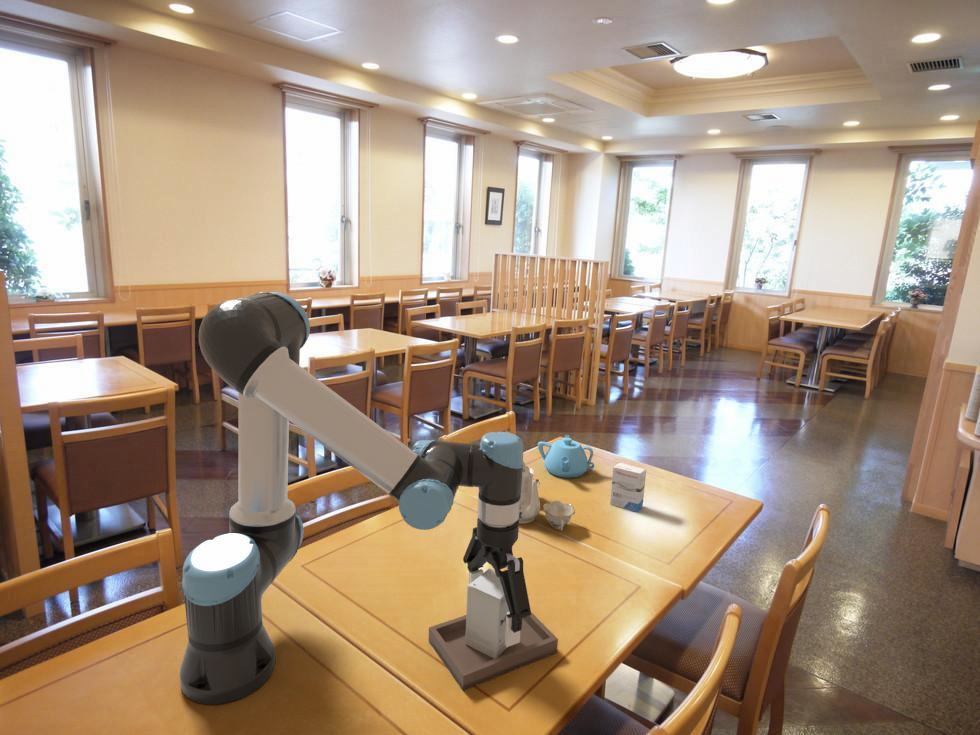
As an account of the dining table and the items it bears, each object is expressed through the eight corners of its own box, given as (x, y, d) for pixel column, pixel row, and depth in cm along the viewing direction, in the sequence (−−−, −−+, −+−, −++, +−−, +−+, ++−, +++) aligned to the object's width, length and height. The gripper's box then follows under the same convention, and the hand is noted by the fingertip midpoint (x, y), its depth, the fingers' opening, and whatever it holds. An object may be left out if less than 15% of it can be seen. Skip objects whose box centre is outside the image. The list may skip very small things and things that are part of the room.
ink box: (643, 506, 172) (647, 468, 169) (637, 512, 168) (641, 474, 165) (615, 498, 176) (619, 461, 173) (609, 504, 172) (612, 466, 169)
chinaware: (583, 535, 158) (593, 476, 155) (535, 545, 148) (544, 483, 145) (521, 494, 180) (528, 442, 177) (475, 501, 171) (482, 446, 168)
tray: (462, 690, 101) (463, 675, 100) (428, 641, 113) (428, 627, 112) (556, 652, 111) (557, 638, 110) (516, 610, 123) (517, 597, 122)
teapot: (529, 468, 195) (531, 436, 192) (565, 457, 206) (567, 427, 203) (563, 485, 184) (566, 451, 181) (599, 472, 194) (602, 440, 192)
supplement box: (496, 661, 107) (499, 600, 104) (463, 644, 111) (466, 584, 108) (518, 639, 113) (521, 580, 110) (486, 623, 117) (489, 566, 114)
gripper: (557, 546, 97) (548, 656, 102) (482, 486, 118) (477, 580, 123) (518, 557, 93) (511, 671, 98) (448, 493, 114) (445, 590, 119)
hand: (492, 621), depth 110 cm, fingers open, 13 cm apart
